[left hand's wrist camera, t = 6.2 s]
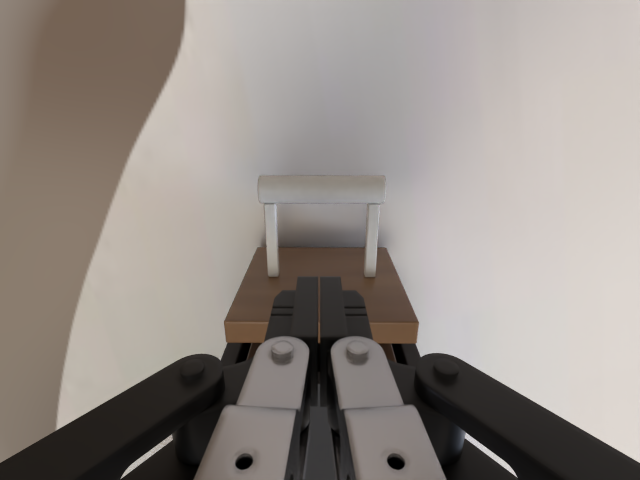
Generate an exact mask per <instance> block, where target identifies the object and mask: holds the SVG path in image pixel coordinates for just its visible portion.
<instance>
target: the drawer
mask: <svg viewBox="0 0 640 480" xmlns="http://www.w3.org/2000/svg"><path fill="white" fill-rule="evenodd" d="M385 197H386V180H385V177H384V176H259V179H258V198H259V202H260V203H265V204H264V214H265V231H266V247H258V248H257V250H256V252H255V254H254V256H253V259H252V261H251V263H250V265H249V268H248V270H247V272H246V274H245V276H244V279H243V281H242V283H241V285H240V288H239V290H238V292H237V294H236V296H235V299H234V301H233V303H232V305H231V308H230V310H229V312H228V314H227V316H226V319H225V321H224V326H225V335H226V342H227V343H251V346H250V350H249V353H248V356H247V360H248V359H250V358H252V357H253V356H255V353H256V351H257V349H258V347H259V346H260V345H261V344H262V343H264V340H265V335H266V331H267V327H268V323H269V319H270V316H271V310H272V306H273V302H274V298H275V297H276V296H277V295H278V294H279V293H280V292H281V291H282V290H296V285H297V277H298V276H318V372H320V276H340V277H341V284H342V290H356V291H357V292H358V293H359V294H360V295H361V296H362V297H363V298H364V302H365V306H366V310H367V316H368V319H369V323H370V328H371V332H372V337H373V341H375V342H376V343H378V344H379V345H380V346H381V347H382V349H383V351H384V353H385V356H386V358H387V359H389V360H391V361H394V362H396V358H395V355H394V351H393V348H392V344H391V343H402V344H415V343H417V335H418V327H419V322H418V319H417V317H416V315H415V312H414V310H413V308H412V306H411V303H410V301H409V299H408V297H407V294H406V292H405V290H404V287H403V285H402V283H401V281H400V278H399V276H398V274H397V271H396V269H395V267H394V265H393V262H392V260H391V258H390V256H389V253H388V251H387V249H386V248H377V241H378V225H379V210H380V205H379V204H383V203H384V201H385ZM276 203H367V218H366V238H365V248H327V247H278V228H277V206H276Z"/></svg>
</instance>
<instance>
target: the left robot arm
mask: <svg viewBox="0 0 640 480" xmlns="http://www.w3.org/2000/svg"><path fill="white" fill-rule="evenodd" d="M310 407H318V276H298V277H297V285H296V290H282V291H281V292H280V293H279V294H278V295H277V296H276V297H275V298H274V302H273V306H272V310H271V316H270V319H269V323H268V327H267V331H266V335H265V340H264V343H262V344H261V345H260V346H259V347H258V349H257V351H256V353H255V356H253V357H252V358H250V359H248V360H246V361H243V362H240V363H237V364H233V365H228V366H224V367H223V365H222V362H221V361H220V360H219V359H218V358H217V357H215V356H212V355H208V354H195V355H190V356H187V357H184V358H182V359H180V360H178V361H176V362H174V363H172V364H171V365H169V366H167V367H165V368H164V369H162V370H160V371H159V372H157V373H155V374H153V375H152V376H150V377H148V378H146V379H145V380H143V381H141V382H140V383H138V384H136V385H134V386H133V387H131V388H129V389H127V390H126V391H124V392H122V393H121V394H119V395H117V396H115V397H114V398H112V399H110V400H108V401H107V402H105V403H103V404H102V405H100V406H98V407H96V408H95V409H93V410H91V411H89V412H88V413H86V414H84V415H83V416H81V417H79V418H77V419H76V420H74V421H72V422H70V423H69V424H67V425H65V426H64V427H62V428H60V429H58V430H57V431H55V432H53V433H51V434H50V435H48V436H46V437H45V438H43V439H41V440H39V441H38V442H36V443H34V444H32V445H31V446H29V447H27V448H25V449H24V450H22V451H20V452H19V453H17V454H15V455H13V456H12V457H10V458H8V459H6V460H5V461H3V462H1V463H0V480H305V473H306V465H307V456H308V448H309V439H310ZM320 407H327V417H328V422H329V425H330V439H331V448H332V456H333V465H334V473H335V480H640V463H639V462H637V461H635V460H634V459H632V458H630V457H628V456H627V455H625V454H623V453H621V452H620V451H618V450H616V449H614V448H613V447H611V446H609V445H608V444H606V443H604V442H602V441H601V440H599V439H597V438H595V437H594V436H592V435H590V434H589V433H587V432H585V431H583V430H582V429H580V428H578V427H576V426H575V425H573V424H571V423H570V422H568V421H566V420H564V419H563V418H561V417H559V416H557V415H556V414H554V413H552V412H551V411H549V410H547V409H545V408H544V407H542V406H540V405H538V404H537V403H535V402H533V401H532V400H530V399H528V398H526V397H525V396H523V395H521V394H519V393H518V392H516V391H514V390H513V389H511V388H509V387H507V386H506V385H504V384H502V383H500V382H499V381H497V380H495V379H494V378H492V377H490V376H488V375H487V374H485V373H483V372H481V371H480V370H478V369H476V368H474V367H473V366H471V365H469V364H468V363H466V362H464V361H462V360H461V359H459V358H457V357H454V356H451V355H448V354H442V353H432V354H427V355H424V356H422V357H421V358H420V359H419V360H418V361H417V363H416V367H413V366H409V365H404V364H400V363H397V362H394V361H391V360H389V359H387V358H386V356H385V353H384V351H383V349H382V347H381V346H380V345H379V344H378V343H376V342H375V341H373V337H372V332H371V328H370V323H369V319H368V316H367V310H366V306H365V302H364V298H363V297H362V296H361V295H360V294H359V293H358V292H357V291H356V290H342V284H341V277H340V276H320ZM465 433H467V434H469V435H470V436H472V437H473V438H474V439H476V440H477V441H478V442H480V443H481V444H482V445H484V446H485V447H486V448H488V449H489V450H491V451H492V452H493V453H495V454H496V455H497V456H499V457H500V458H501V459H503V460H504V461H505V462H507V463H508V464H509V465H510V467H511V468H512V469H513V470H514V472H515V473H516V475H517V477H518V478H517V477H516V476H514V475H513V474H512V473H510V472H509V471H508V470H506V469H505V468H504V467H502V466H501V465H500V464H498V463H497V462H496V461H494V460H493V459H492V458H490V457H489V456H488V455H486V454H485V453H484V452H482V451H481V450H480V449H478V448H477V447H476V446H474V445H473V444H472V443H470V442H469V441H468V440H466V439H465ZM171 434H172V437H173V440H172V441H171V442H170V443H168V444H167V445H166V446H164V447H163V448H162V449H160V450H159V451H158V452H156V453H155V454H154V455H152V456H151V457H150V458H148V459H147V460H146V461H144V462H143V463H142V464H140V465H139V466H138V467H136V468H135V469H134V470H132V471H131V472H130V473H128V474H127V475H126V476H124V477H123V478H122V479H121V476H122V475H123V473H124V472H125V470H126V469H127V468H128V467H129V466H130V465H131V464H132V463H133V462H135V461H136V460H137V459H139V458H140V457H141V456H143V455H144V454H145V453H147V452H148V451H149V450H151V449H152V448H154V447H155V446H156V445H158V444H159V443H160V442H162V441H163V440H164V439H166V438H167V437H168V436H170V435H171Z"/></svg>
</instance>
